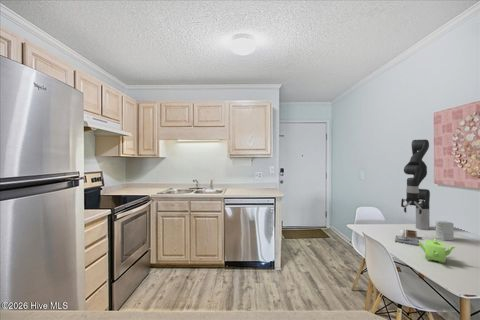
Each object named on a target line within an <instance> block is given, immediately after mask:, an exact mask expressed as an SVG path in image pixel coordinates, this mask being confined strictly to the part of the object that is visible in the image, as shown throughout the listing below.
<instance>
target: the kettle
mask: <svg viewBox="0 0 480 320" xmlns="http://www.w3.org/2000/svg"><path fill="white" fill-rule="evenodd" d="M418 246H419V247H420V248H421V249H422V251H423V252H424V254H425V255H424V256H425V259H426V260H427V261H430V262H431V261H437V262H438V263H440V264H444V263H447V261H446V259H447V256H449V255H450V254H451V253H452V250H453V249H454V248H456V246H455V245H454V246H453V245H450V246H449V248H448V249H446V243H445V242H443V241H438V240H437V238H433V240H431V239H425V245H424V244H423V243H421V242H418Z"/></svg>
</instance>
